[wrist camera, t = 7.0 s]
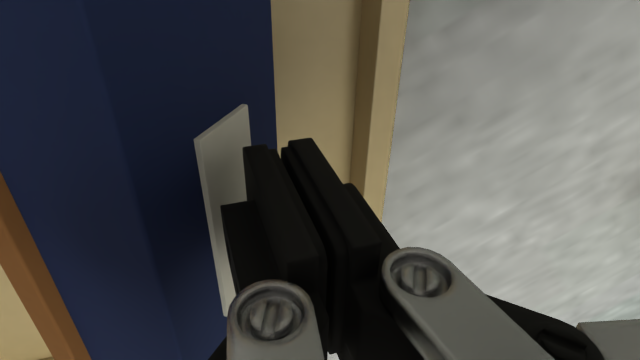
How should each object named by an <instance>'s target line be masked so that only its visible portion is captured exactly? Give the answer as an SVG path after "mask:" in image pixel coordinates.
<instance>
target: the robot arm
mask: <svg viewBox="0 0 640 360" xmlns="http://www.w3.org/2000/svg"><path fill="white" fill-rule="evenodd" d="M242 152H243V164H244V174H245V185H246V195H247V201H243V202H237V203H232V204H226V205H220V209H221V217H222V224H223V231H224V238H225V244H226V250H227V255H228V260H229V265H230V270H231V274H232V279H233V284H234V288H235V293H236V296H235V297H234V299H233V301H232V302H231V304H230V306H229V310H228V315H227V336H226V337H225V338H224V340H223V341H222V342H221V343H220V345H219V346H218V347H217V349H216V350H215V351H214V352H213V354H212V355H211V356H210V357H209V359H208V360H327V352H329V354H334V353H337V355H338V357H339V360H640V319H633V320H616V321H599V322H582V323H578V325H577V326H576V328H575V327H574V326H572V325H569V324H567V323H565V322H563V321H561V320H558V319H555V318H552V317H549V316H546V315H544V314H541V313H538V312H535V311H532V310H529V309H526V308H523V307H521V306H518V305H515V304H512V303H509V302H506V301H503V300H500V299H497V298H495V297H492V296H489V295H486V294H484V293H483V292H482V291H481V290H480V289H479V288H478V287H477V286H476V285H475V284H474V283H473V282H472V281H471V280H470V279H468V278H467V277H466V276H465V275H464V274H463V273H462V272H461V271H460V270H459V269H458V268H457V267H456V266H455V265H454V264H453V263H451V262H450V261H449V260H448V259H446V258H445V257H444V256H442V255H441V254H439V253H436V252H434V251H432V250H429V249H424V248H420V247H406V248H402V249H400V248H399V247H398V245H397V244H396V243H395V241H394V240H393V238H392V237H391V236H390V234H389V233H388V231H387V230H386V229H385V227H384V226H383V224H382V223H381V222H380V220H379V219H378V217H377V216H376V215H375V213H374V212H373V210H372V209H371V207H370V206H369V205H368V203H367V202H366V200H365V199H364V198H363V196H362V195H361V193H360V192H359V191H358V189H357V188H356V187H355V186H354V184H352V183H346V184H343V183H342V182H341V180H340V179H339V177H338V176H337V174H336V173H335V171H334V170H333V168H332V167H331V165H330V164H329V162H328V161H327V159H326V158H325V156H324V155H323V153H322V152H321V150H320V149H319V148H318V146H317V145H316V143H315V142H314V140H313V139H312V138H303V139H296V140H289V141H288V147H282V148H281V158H280V156H279V154H278V152H277V150H276V149H275V148H274V149H268V147H267V145H266V144H260V145H253V146H246V147H243V148H242Z"/></svg>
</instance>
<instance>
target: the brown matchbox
mask: <svg viewBox="0 0 640 360" xmlns="http://www.w3.org/2000/svg"><path fill="white" fill-rule="evenodd" d="M260 144H266V145H267V147H268V149H274V148H275V149H276V150H277V128H276V106H275V84H274V62H273V40H272V18H271V0H0V265H1V267H2V268H3V270H4V272H5V274H6V275H7V277H8V279H9V281H10V282H11V284H12V286H13V288H14V289H15V291H16V293H17V295H18V296H19V298H20V300H21V302H22V304H23V305H24V307H25V309H26V311H27V312H28V314H29V316H30V318H31V319H32V321H33V323H34V325H35V326H36V328H37V330H38V332H39V333H40V335H41V337H42V339H43V340H44V342H45V344H46V346H47V348H48V349H49V351H50V353H51V355H52V356H53V358H54V360H208V359H209V357H210V356H211V355H212V354H213V352H214V351H215V350H216V349H217V347H218V346H219V345H220V343H221V342H222V341H223V340H224V338H225V337H226V336H227V315H228V310H229V306H230V304H231V302H232V301H233V299H234V297H235V296H236V293H235V288H234V284H233V279H232V274H231V270H230V265H229V260H228V255H227V250H226V244H225V238H224V231H223V224H222V217H221V209H220V205H226V204H232V203H237V202H243V201H247V195H246V185H245V174H244V164H243V152H242V148H243V147H246V146H253V145H260ZM277 152H278V150H277Z"/></svg>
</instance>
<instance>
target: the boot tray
mask: <svg viewBox="0 0 640 360" xmlns="http://www.w3.org/2000/svg"><path fill="white" fill-rule="evenodd" d="M409 3H410V0H271V18H272V40H273V62H274V84H275V106H276V128H277V150H278V154H279V156H280V158H281V148H282V147H288V141H289V140H296V139H303V138H312V139H313V140H314V142H315V143H316V145H317V146H318V148H319V149H320V150H321V152H322V153H323V155H324V156H325V158H326V159H327V161H328V162H329V164H330V165H331V167H332V168H333V170H334V171H335V173H336V174H337V176H338V177H339V179H340V180H341V182H342V183H343V184H346V183H352V184H354V186H355V187H356V188H357V189H358V191H359V192H360V193H361V195H362V196H363V198H364V199H365V200H366V202H367V203H368V205H369V206H370V207H371V209H372V210H373V212H374V213H375V215H376V216H377V217H378V219H379V220H380V222H382V214H383V206H384V198H385V190H386V183H387V175H388V167H389V159H390V151H391V143H392V136H393V128H394V120H395V112H396V104H397V96H398V89H399V81H400V73H401V65H402V57H403V50H404V42H405V34H406V26H407V18H408V10H409ZM0 360H54V358H53V356H52V355H51V353H50V351H49V349H48V348H47V346H46V344H45V342H44V340H43V339H42V337H41V335H40V333H39V332H38V330H37V328H36V326H35V325H34V323H33V321H32V319H31V318H30V316H29V314H28V312H27V311H26V309H25V307H24V305H23V304H22V302H21V300H20V298H19V296H18V295H17V293H16V291H15V289H14V288H13V286H12V284H11V282H10V281H9V279H8V277H7V275H6V274H5V272H4V270H3V268H2V267H1V265H0Z"/></svg>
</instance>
